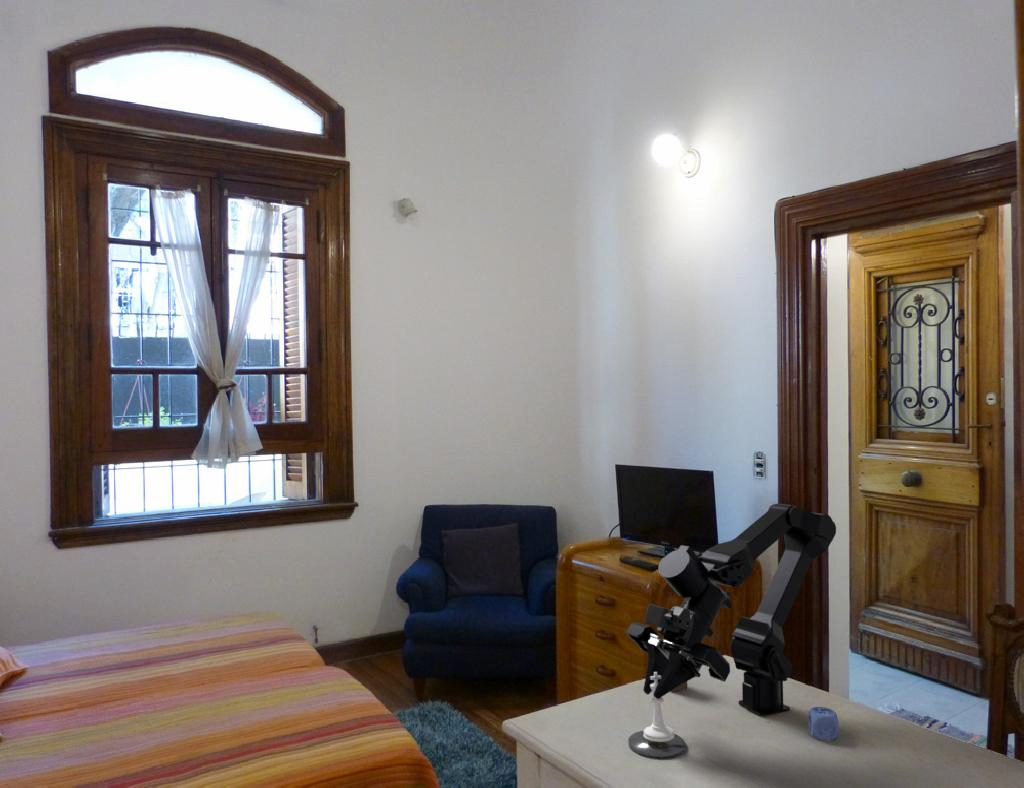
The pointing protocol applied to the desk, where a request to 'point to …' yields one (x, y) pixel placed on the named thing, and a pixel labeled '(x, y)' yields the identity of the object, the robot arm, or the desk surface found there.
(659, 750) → the carrier plate
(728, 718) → the desk surface
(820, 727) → the decorative dice
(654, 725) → the chess piece
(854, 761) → the desk surface
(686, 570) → the robot arm
